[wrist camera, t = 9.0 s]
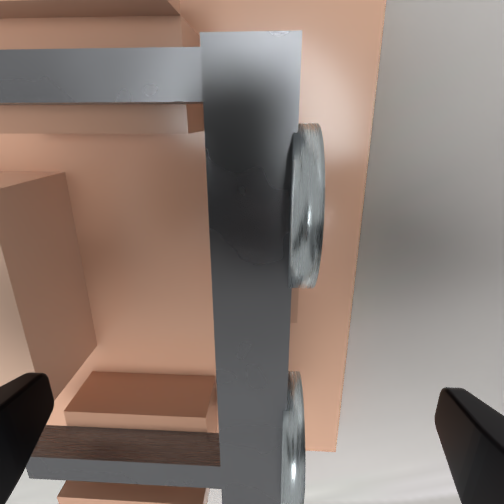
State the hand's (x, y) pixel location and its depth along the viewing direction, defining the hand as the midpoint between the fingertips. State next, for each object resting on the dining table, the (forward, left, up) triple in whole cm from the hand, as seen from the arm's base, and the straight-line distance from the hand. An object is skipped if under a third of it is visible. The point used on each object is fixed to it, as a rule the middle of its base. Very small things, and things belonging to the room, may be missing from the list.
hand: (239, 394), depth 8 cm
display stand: (+4, 0, -9) cm, 9 cm away
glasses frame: (+4, 0, -5) cm, 6 cm away
